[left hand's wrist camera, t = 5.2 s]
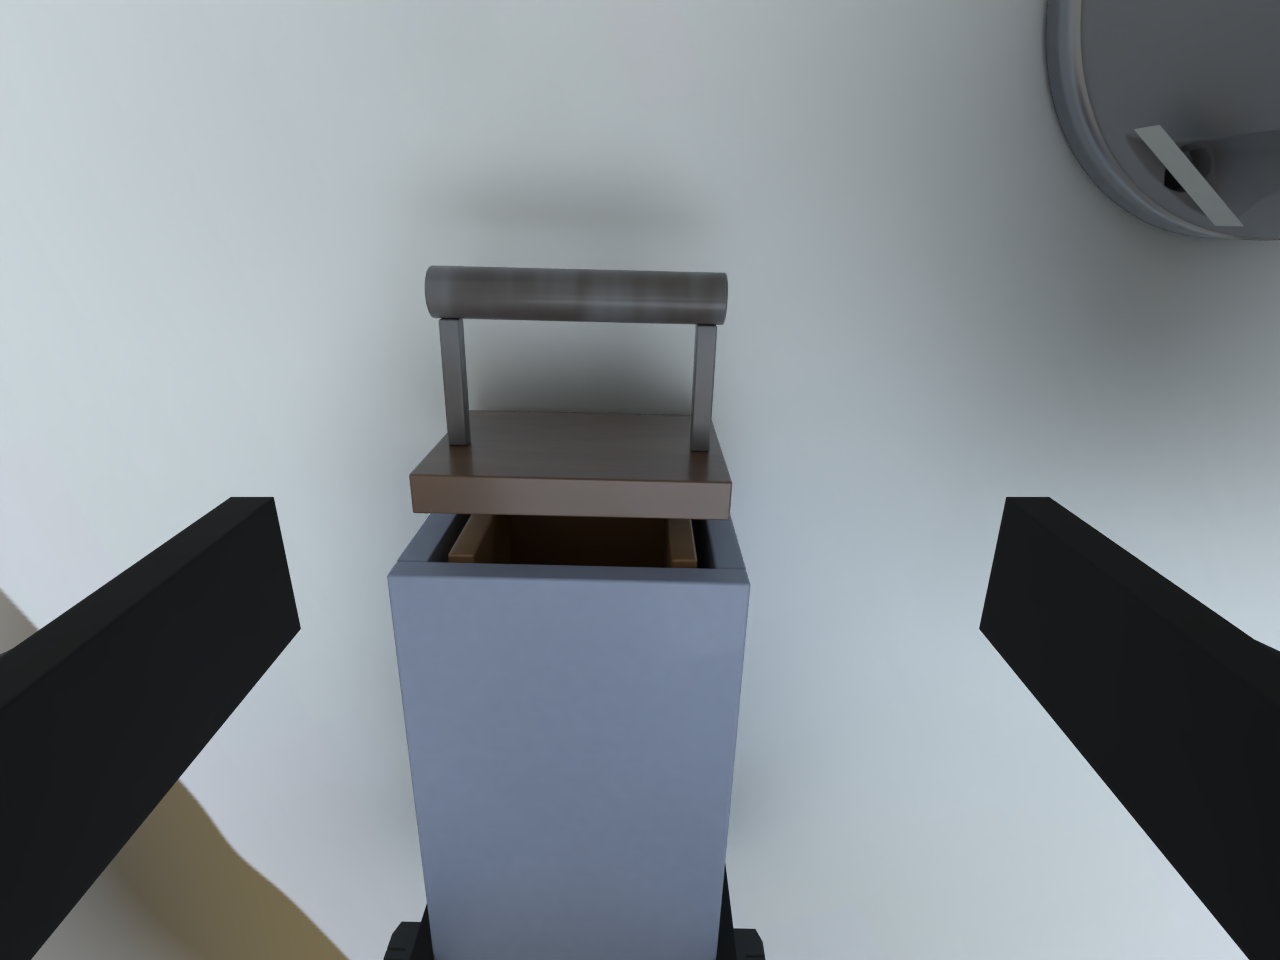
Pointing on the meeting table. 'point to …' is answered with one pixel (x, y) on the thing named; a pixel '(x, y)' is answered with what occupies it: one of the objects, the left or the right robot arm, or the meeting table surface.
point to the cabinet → (571, 747)
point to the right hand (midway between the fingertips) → (585, 862)
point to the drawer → (575, 431)
